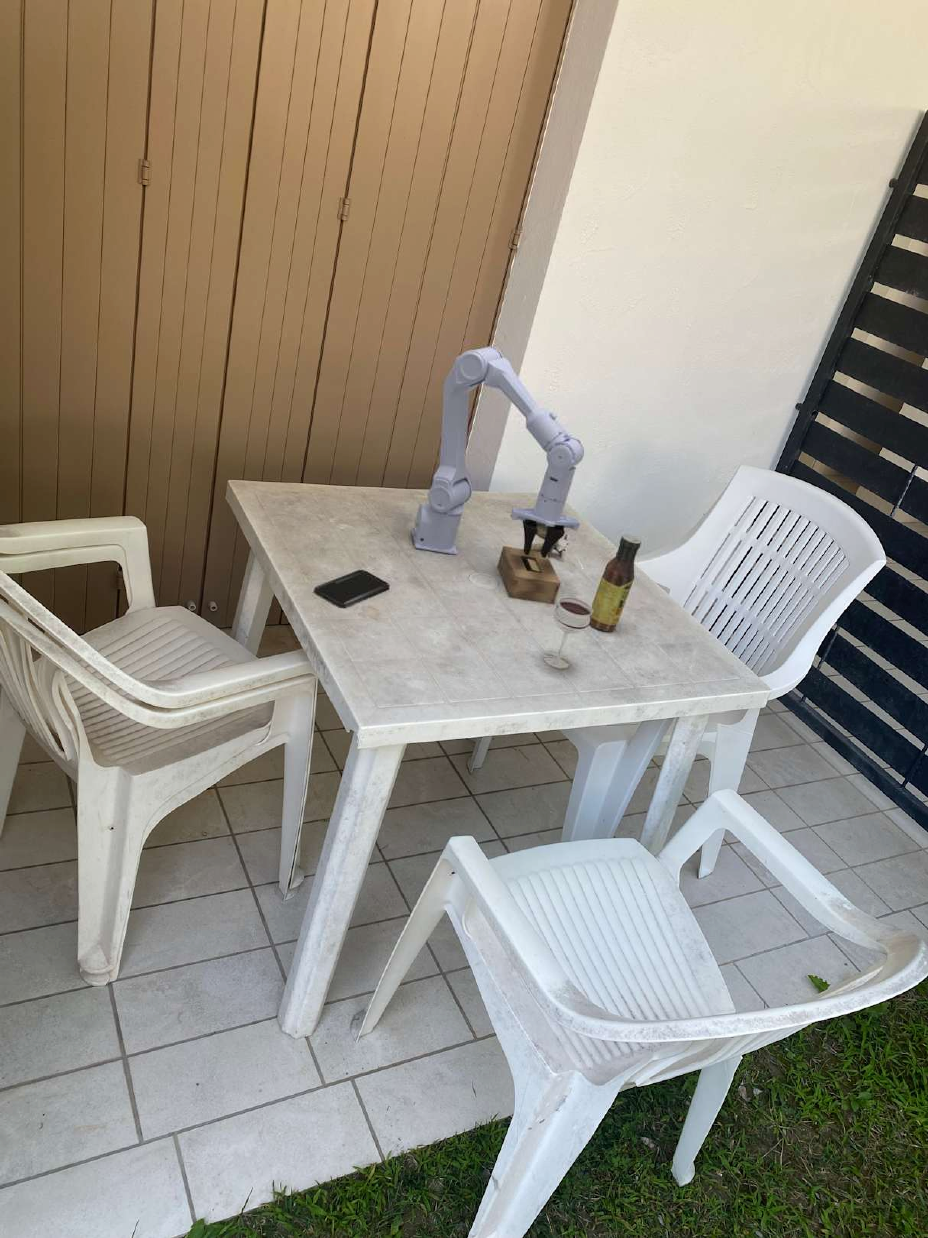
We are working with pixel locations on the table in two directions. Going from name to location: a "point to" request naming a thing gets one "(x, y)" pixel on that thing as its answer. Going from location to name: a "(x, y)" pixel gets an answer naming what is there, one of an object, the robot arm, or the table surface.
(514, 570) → the box
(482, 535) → the table surface
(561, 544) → the eagle figurine
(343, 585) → the phone
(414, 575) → the table surface
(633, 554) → the sauce bottle
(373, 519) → the table surface
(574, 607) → the wineglass
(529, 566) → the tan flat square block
